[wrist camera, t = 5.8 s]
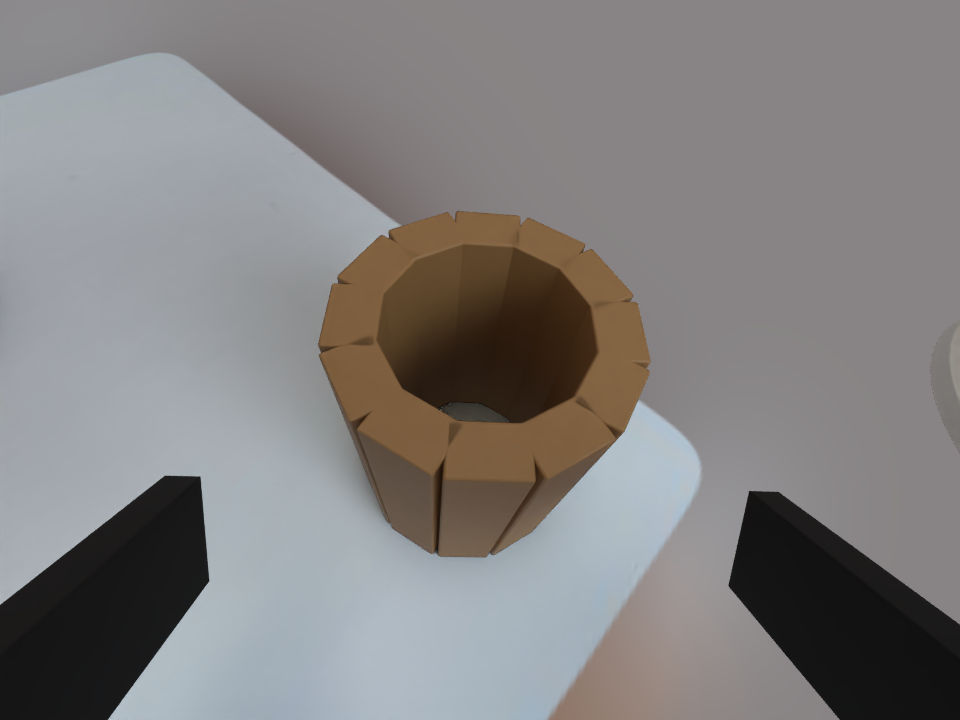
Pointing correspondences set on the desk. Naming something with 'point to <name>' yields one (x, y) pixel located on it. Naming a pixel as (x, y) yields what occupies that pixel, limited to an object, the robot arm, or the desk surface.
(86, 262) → the desk surface
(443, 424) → the wooden stave tube
